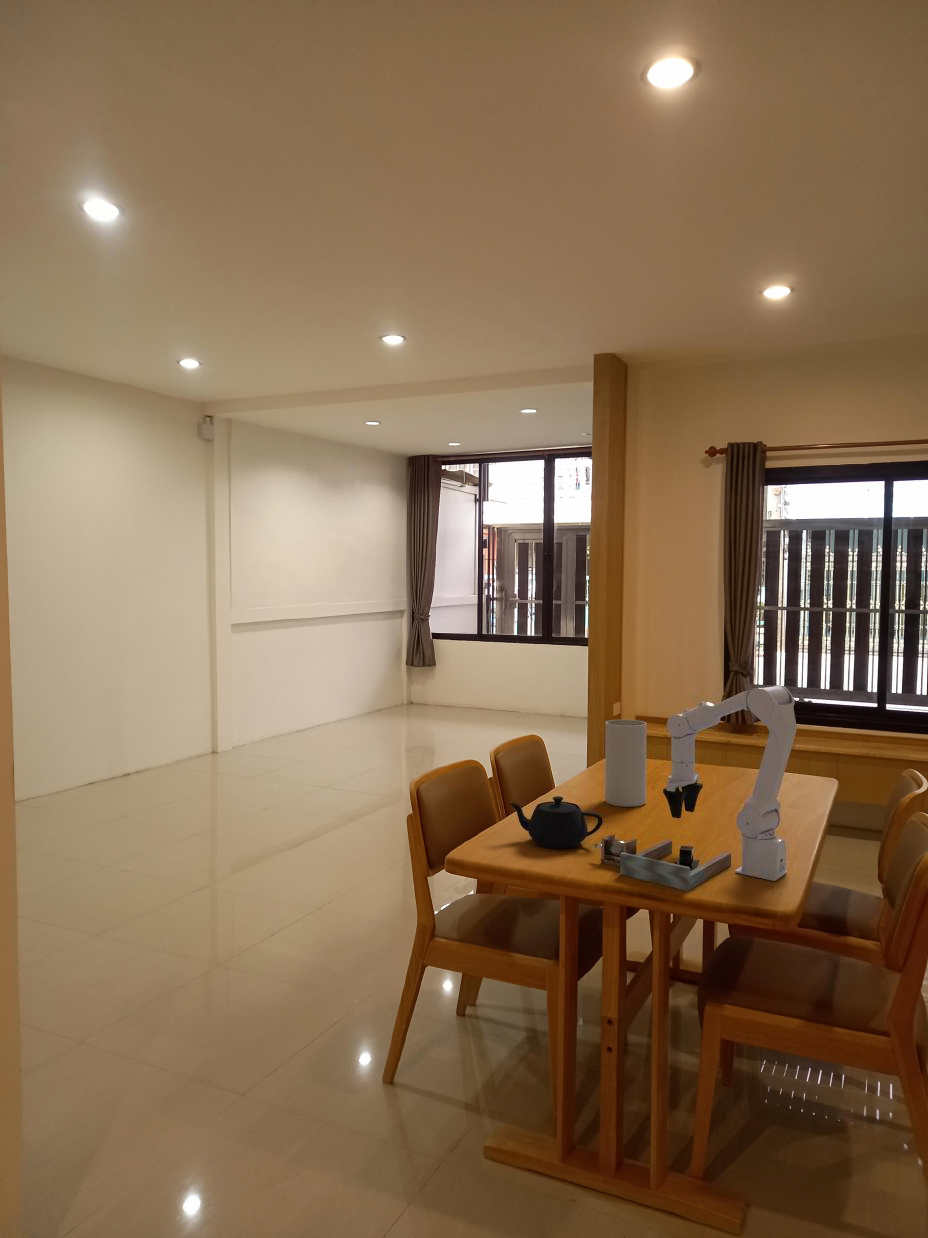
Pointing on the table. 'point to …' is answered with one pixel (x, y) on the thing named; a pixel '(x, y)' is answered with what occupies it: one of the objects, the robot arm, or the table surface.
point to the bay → (669, 867)
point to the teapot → (557, 823)
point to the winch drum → (615, 849)
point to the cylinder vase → (625, 763)
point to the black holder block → (687, 858)
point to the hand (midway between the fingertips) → (683, 814)
